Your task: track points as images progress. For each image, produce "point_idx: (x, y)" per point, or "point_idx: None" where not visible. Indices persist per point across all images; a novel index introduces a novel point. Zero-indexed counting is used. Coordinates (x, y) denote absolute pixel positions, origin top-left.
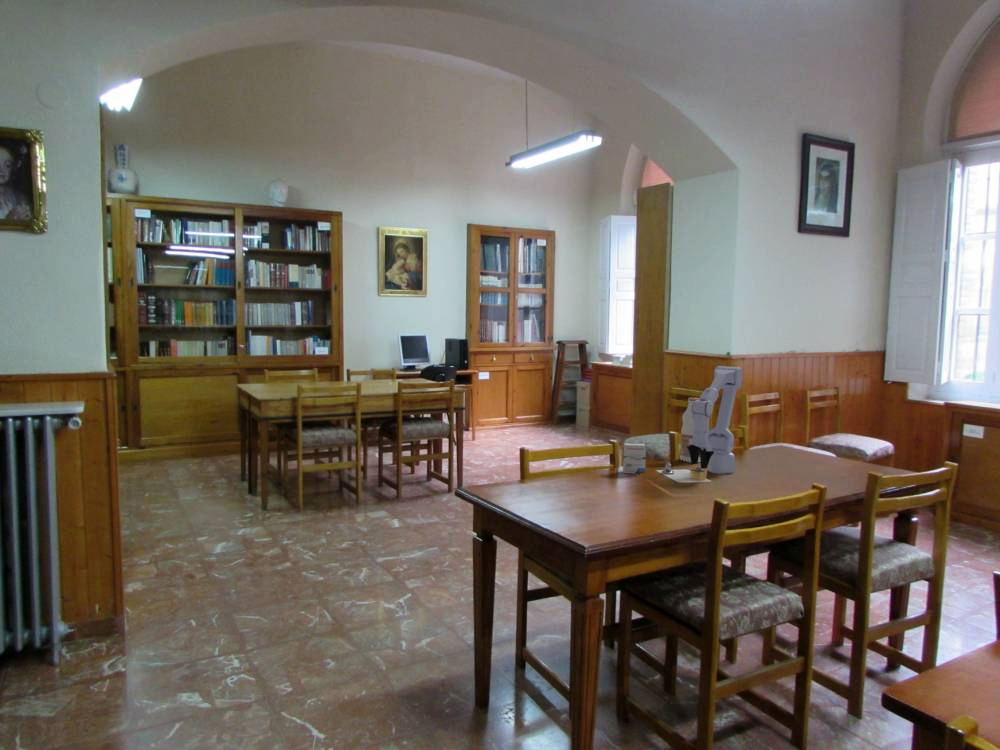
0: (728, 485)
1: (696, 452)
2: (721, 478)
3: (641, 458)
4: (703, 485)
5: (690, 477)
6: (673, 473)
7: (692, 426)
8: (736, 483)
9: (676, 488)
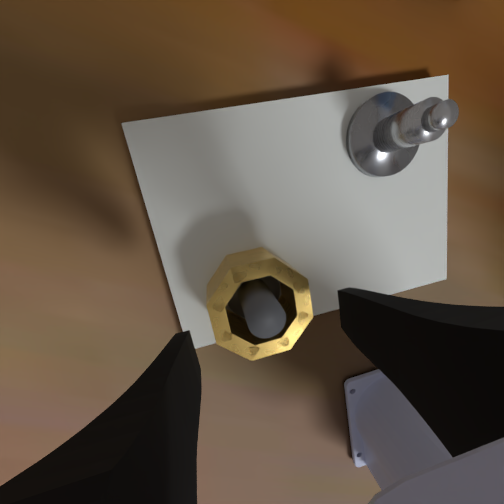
0: None
1: (427, 390)
2: (308, 402)
3: None
4: (147, 289)
5: (272, 249)
6: (356, 165)
7: None
8: (216, 449)
9: (19, 81)
